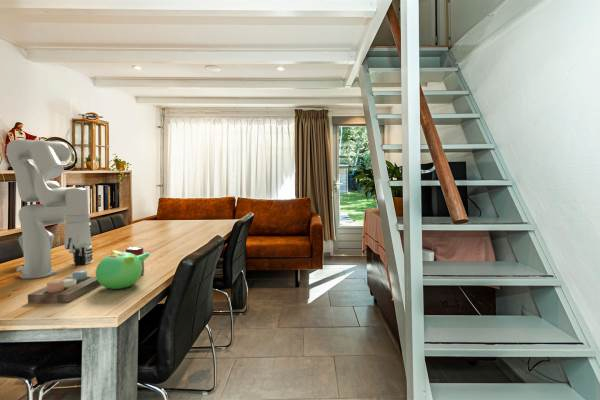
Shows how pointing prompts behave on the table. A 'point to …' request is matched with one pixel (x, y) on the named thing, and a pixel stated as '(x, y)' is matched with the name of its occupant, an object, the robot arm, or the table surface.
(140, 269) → the green rounded body
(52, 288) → the terracotta button
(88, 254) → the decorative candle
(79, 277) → the slate-blue button
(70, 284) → the cream button
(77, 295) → the brown wooden tray
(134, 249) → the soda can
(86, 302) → the table surface
